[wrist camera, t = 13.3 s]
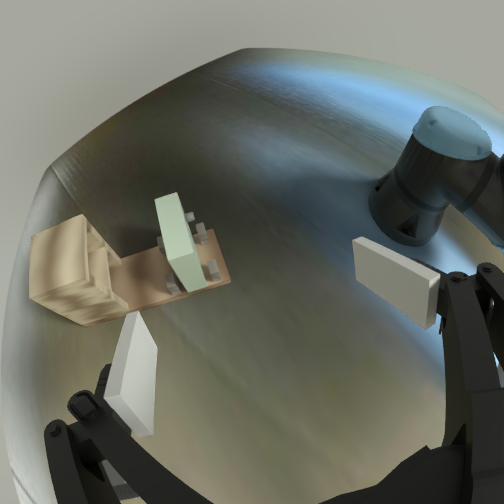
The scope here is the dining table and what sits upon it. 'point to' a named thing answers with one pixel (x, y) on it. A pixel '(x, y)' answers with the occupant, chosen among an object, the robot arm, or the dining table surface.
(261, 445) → the dining table surface
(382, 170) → the dining table surface
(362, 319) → the dining table surface
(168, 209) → the pale green block
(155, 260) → the wooden rack
